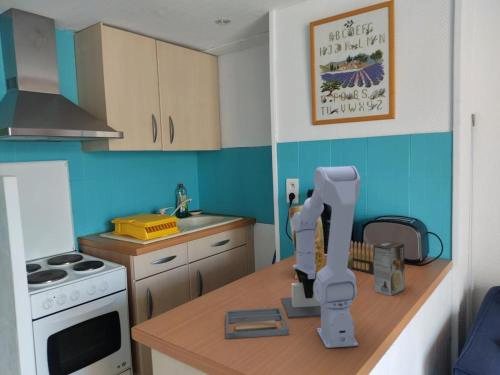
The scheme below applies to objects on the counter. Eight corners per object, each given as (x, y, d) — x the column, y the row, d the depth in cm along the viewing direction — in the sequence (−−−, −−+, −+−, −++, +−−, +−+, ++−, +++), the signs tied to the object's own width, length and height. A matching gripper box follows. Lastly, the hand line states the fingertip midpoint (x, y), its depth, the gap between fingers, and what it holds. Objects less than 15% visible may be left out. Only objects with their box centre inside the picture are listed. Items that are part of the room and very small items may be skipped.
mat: (335, 315, 104) (335, 313, 104) (288, 318, 103) (288, 316, 103) (322, 297, 118) (322, 295, 118) (281, 299, 117) (281, 298, 117)
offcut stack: (279, 335, 94) (279, 326, 94) (234, 338, 93) (234, 329, 93) (277, 328, 98) (277, 320, 98) (234, 331, 97) (233, 322, 97)
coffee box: (387, 284, 127) (387, 240, 126) (405, 289, 122) (405, 243, 121) (373, 291, 121) (373, 245, 120) (391, 296, 116) (391, 248, 115)
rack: (288, 334, 93) (288, 329, 93) (226, 339, 92) (225, 333, 92) (280, 312, 107) (280, 307, 107) (225, 315, 106) (225, 311, 106)
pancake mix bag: (284, 277, 139) (282, 206, 137) (319, 267, 150) (318, 202, 148) (296, 281, 133) (294, 208, 131) (331, 271, 144) (330, 203, 142)
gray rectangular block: (321, 305, 109) (321, 283, 109) (293, 307, 109) (292, 285, 108) (320, 303, 111) (319, 281, 111) (292, 304, 111) (291, 283, 110)
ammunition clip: (348, 269, 146) (348, 240, 145) (351, 268, 148) (351, 239, 147) (373, 274, 139) (373, 244, 138) (375, 273, 140) (375, 243, 139)
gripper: (288, 246, 116) (289, 286, 117) (297, 258, 101) (298, 304, 102) (309, 245, 116) (310, 285, 117) (321, 256, 102) (322, 302, 103)
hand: (306, 294), depth 110 cm, fingers open, 6 cm apart
